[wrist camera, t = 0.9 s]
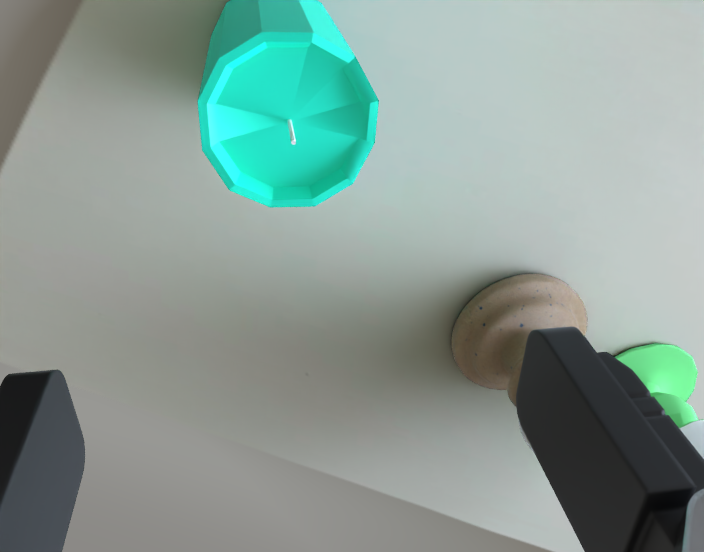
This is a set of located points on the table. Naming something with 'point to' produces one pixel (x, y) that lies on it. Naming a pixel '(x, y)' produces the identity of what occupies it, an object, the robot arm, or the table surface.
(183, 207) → the table surface
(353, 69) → the candle
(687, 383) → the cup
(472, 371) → the candle holder
